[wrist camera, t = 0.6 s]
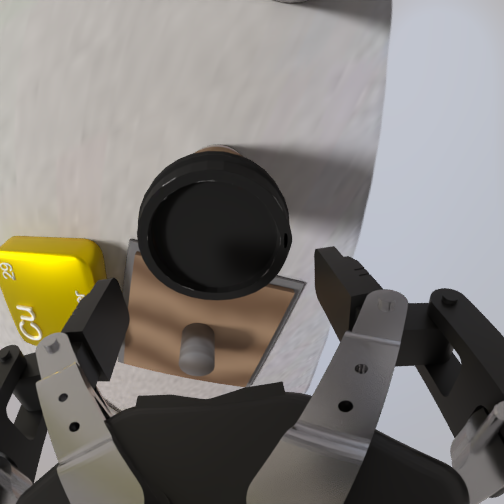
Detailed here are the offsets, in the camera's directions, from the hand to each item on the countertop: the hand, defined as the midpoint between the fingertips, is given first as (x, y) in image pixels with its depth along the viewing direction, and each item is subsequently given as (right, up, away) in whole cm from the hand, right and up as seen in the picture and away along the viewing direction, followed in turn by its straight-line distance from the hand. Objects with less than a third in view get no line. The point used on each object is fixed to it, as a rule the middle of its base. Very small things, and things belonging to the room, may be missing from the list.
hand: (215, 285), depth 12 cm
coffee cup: (-2, +9, +16) cm, 19 cm away
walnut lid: (-5, -8, +24) cm, 26 cm away
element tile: (-23, -3, +21) cm, 31 cm away
